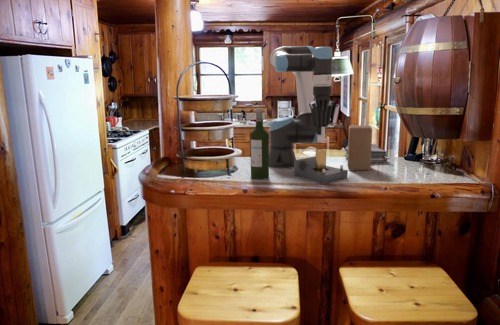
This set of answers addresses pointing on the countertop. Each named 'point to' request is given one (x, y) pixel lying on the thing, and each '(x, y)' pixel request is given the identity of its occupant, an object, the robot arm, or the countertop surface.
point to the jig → (307, 171)
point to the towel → (374, 154)
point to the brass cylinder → (320, 159)
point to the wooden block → (359, 147)
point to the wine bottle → (259, 149)
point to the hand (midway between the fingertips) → (321, 142)
